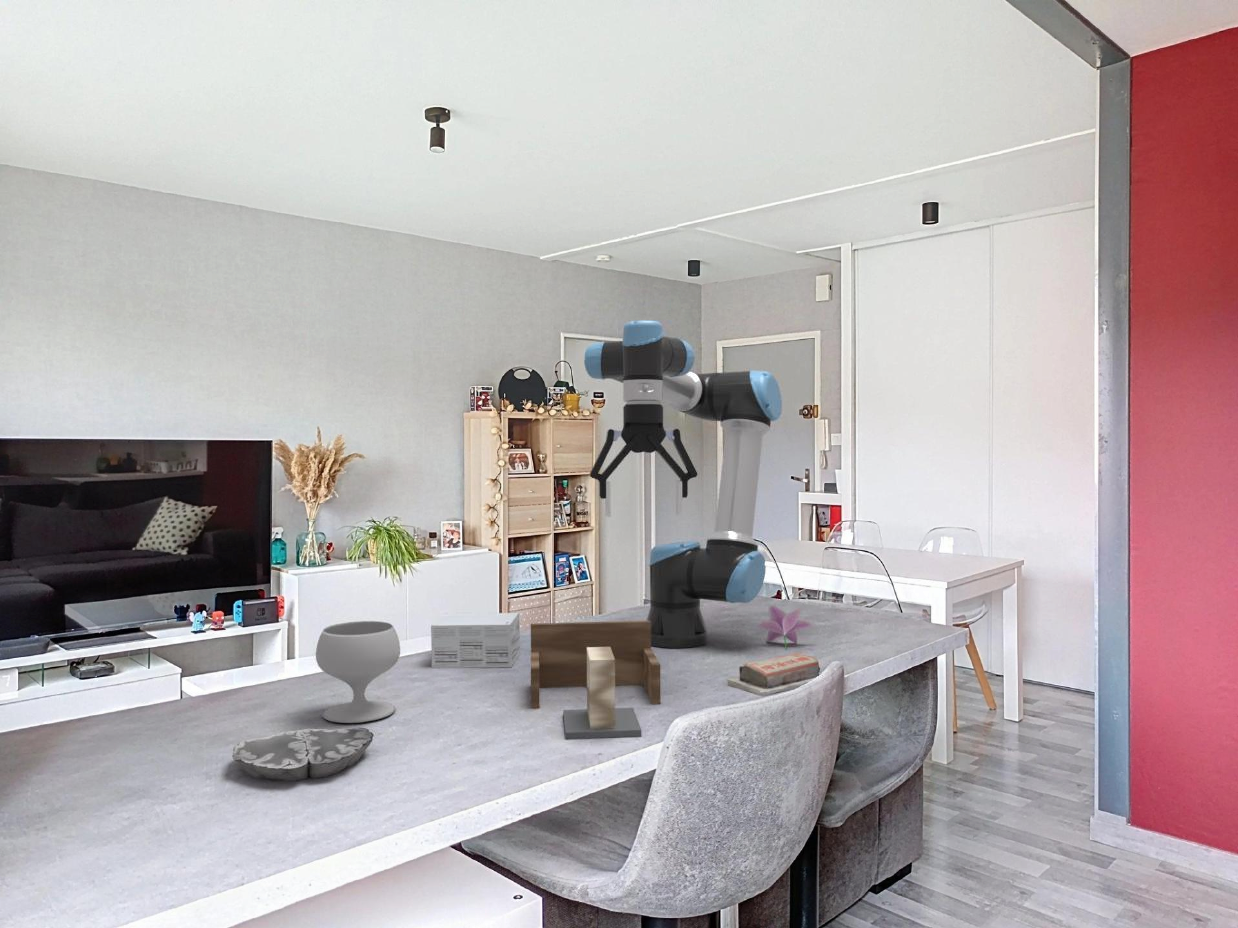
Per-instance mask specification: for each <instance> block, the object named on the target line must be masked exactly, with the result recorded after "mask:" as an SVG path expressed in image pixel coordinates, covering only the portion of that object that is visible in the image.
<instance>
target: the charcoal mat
mask: <svg viewBox="0 0 1238 928" xmlns="http://www.w3.org/2000/svg"><path fill="white" fill-rule="evenodd" d="M562 718H563V725H564V734H565V735H564V736H565V737H564V738H565V740H577V739H580V740H582V739H604V738H628V737H629V738H630V737H633V738H634V737H642V728H641V725H640V723H639V720H638V718H637V715H636V712H635V709H634V707H615V728H599V729H590V724H589V719H588V714H587V708H586V709H585V708H584V709H583V708H582V709H563V710H562Z"/></svg>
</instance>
